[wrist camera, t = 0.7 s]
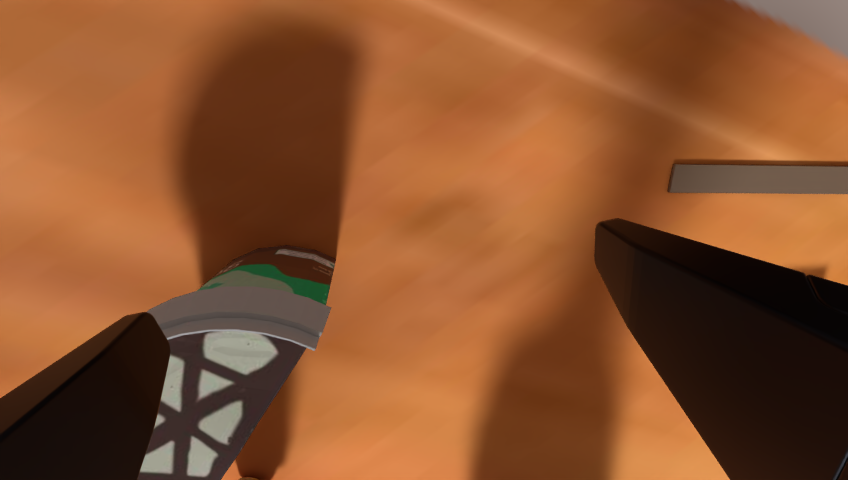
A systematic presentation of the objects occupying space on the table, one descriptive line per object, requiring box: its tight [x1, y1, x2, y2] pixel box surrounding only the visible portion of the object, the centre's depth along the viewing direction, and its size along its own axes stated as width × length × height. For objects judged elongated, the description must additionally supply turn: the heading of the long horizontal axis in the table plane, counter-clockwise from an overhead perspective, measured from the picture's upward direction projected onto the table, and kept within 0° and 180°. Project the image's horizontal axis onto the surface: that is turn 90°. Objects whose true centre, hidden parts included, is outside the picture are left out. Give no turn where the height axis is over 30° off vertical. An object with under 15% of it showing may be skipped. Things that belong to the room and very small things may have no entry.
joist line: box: [668, 164, 848, 194], centre depth 25 cm, size 2×16×1 cm, turn 89°
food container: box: [137, 245, 336, 480], centre depth 20 cm, size 12×6×10 cm, turn 147°
